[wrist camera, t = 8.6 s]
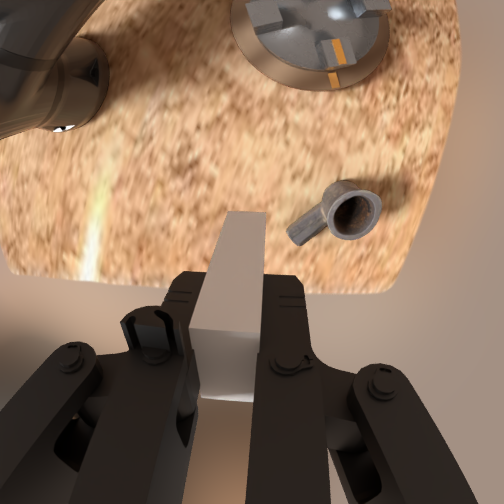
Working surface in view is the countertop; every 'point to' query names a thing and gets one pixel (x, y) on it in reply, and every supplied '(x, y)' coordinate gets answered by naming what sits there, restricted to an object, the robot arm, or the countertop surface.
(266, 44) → the four-tab metal disc
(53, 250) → the countertop surface
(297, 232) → the pipe
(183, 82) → the countertop surface
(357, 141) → the countertop surface
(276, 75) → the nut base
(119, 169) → the countertop surface
